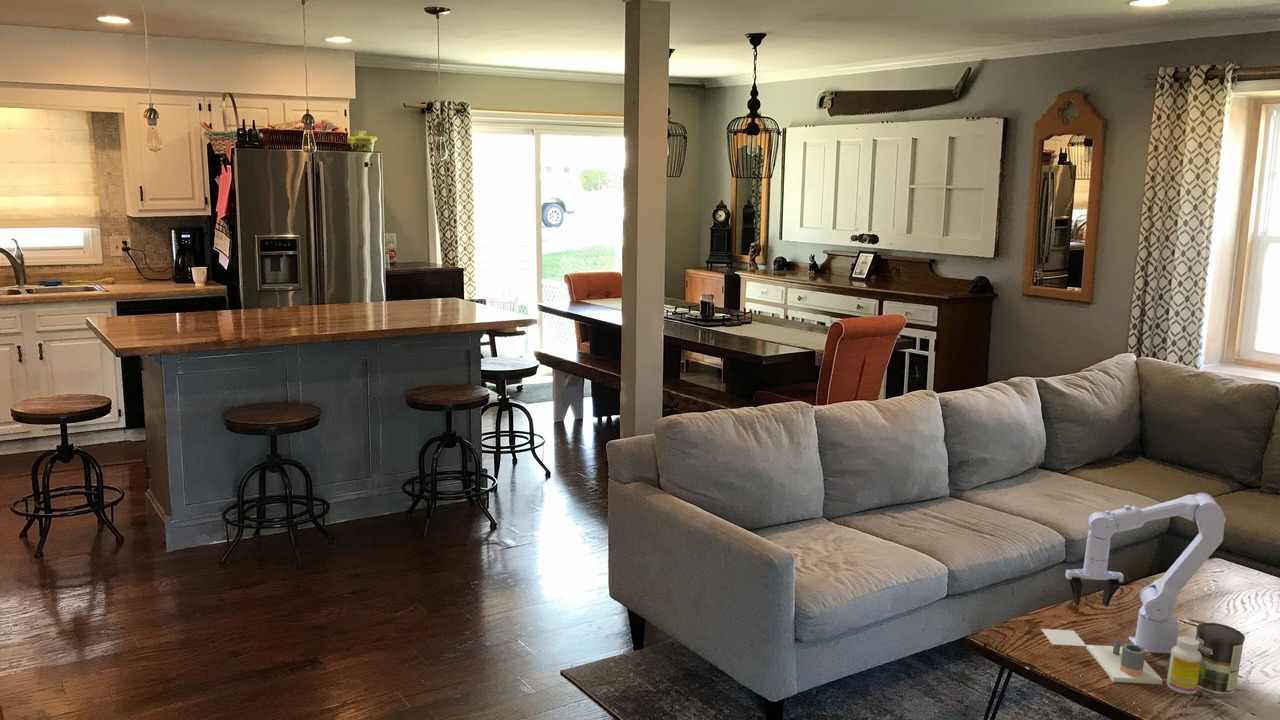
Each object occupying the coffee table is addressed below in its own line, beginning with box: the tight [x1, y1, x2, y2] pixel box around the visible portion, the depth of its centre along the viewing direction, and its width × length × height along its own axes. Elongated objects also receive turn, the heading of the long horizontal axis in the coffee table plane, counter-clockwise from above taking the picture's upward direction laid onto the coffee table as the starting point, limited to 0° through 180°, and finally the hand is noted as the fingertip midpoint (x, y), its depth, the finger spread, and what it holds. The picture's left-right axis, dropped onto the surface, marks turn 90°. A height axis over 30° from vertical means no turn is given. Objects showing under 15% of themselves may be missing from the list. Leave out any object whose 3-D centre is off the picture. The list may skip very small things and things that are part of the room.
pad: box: [1040, 628, 1087, 647], centre depth 269 cm, size 9×9×1 cm
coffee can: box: [1195, 622, 1246, 696], centre depth 246 cm, size 10×10×14 cm
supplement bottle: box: [1166, 635, 1202, 695], centre depth 243 cm, size 7×7×13 cm
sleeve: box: [1120, 643, 1146, 676], centre depth 250 cm, size 5×5×6 cm
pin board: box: [1085, 639, 1163, 685], centre depth 254 cm, size 12×17×5 cm
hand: (1090, 604), depth 269 cm, fingers open, 7 cm apart
